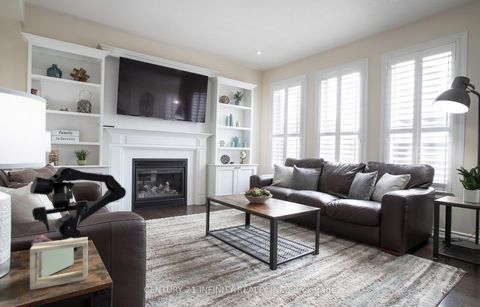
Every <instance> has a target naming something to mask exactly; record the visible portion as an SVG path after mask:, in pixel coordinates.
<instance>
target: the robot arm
mask: <svg viewBox="0 0 480 307" xmlns="http://www.w3.org/2000/svg"><path fill="white" fill-rule="evenodd" d="M34 178H35V179H34V180H33V181H32V183H31V185H30V190H29V191H30V194H32V195H33V194H34V195H43V196H49V194H52V193H53V194H52V198H51V199H52V201H51V202H52V204H51V206H52V207H53V208H48V209H46V208H47V207H46V206H45V205H44V206H39V207H37V206H36V207H34V208H33V209H32V210H31V211H32V217H33V219H34V221H38V222H42V223H43V225H44V226H45V229H46V230H47V232H48V233H49V232H50V224H49V219H48V215H51V214H58V213H65V212H71V211H76V213H73V214H70V213H65V214H64V215H63V216H61V217H58V218H57V220H56V222H55V223H54V227H53V228H54V230H55V231H56V232H58V233H59V235H60V236H61V240H66V239H68V238H74V239H75V238H80V235H81V231H80V230H79V229H78V227H79V226H80V225H81V223H82V222H83V221H84V220H86V219H88V218H89V217H91V216H92V215H94V214H95V213H97V212H99V210H101V209H103V208H104V207H106V206H107V205H109V204H110V203H113V202H117V201H119V200H121V199H124V198H125V197H126V194H127V190H126V188H124V187H123V186H122V185H121V183H119V181H117V180H116V178H115V177H114V176H113V175H111V174H108V173H107V174H102V173H95V172H94V173H93V172H87V171H81V170H78V169H76V168H75V169H74V168H73V167H67V166H60V167H59V168H58V169H56V171H55V173H54V174H52V176H50V177H49V178H45V177H40V176H35V177H34ZM72 181H73V182H75V181H90V182H99V183H104V185H105V187H106V189H107V190H106V191H105V192H104V194H103V195H102V196H101V197H99V198H97V199H96V200H93V202H91V203H90V204H89V202H88V200H79V201H77V202H76V204H74V205H71V200H73V199H74V192H73V188H74V187H75V186H76V185H75V183H73V182H72ZM78 249H79V247H74V252H77V251H78Z"/></svg>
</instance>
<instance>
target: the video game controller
mask: <svg viewBox="0 0 480 307" xmlns="http://www.w3.org/2000/svg"><path fill="white" fill-rule="evenodd" d="M50 241H53V240H52V239H50V238H48V237H46V236H45V235H43V234H41V235H38V236H35V237H34V238H33V240H32V241H31V247H32V246H33V244H34V243H42V242H50Z"/></svg>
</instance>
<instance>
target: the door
mask: <svg viewBox="0 0 480 307" xmlns="http://www.w3.org/2000/svg"><path fill="white" fill-rule="evenodd" d="M68 239H74V238H68ZM66 240H67V239H66ZM74 254H75V251H74V247H72V248H65V249H57V250H50V251H43V252H38V278H42V277H48V276H52V275H53V274H55V273H57V272H59V271H62V270H64V269H65V268H68V267H70V266H72V265H74V260H75V259H74V258H75V256H74Z"/></svg>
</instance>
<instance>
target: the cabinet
mask: <svg viewBox="0 0 480 307" xmlns="http://www.w3.org/2000/svg"><path fill="white" fill-rule="evenodd" d="M88 239H89V238H88V236H86V237H85V236H84V237H83V236H82V237H77V238H75V239H67V240H62V239H61V240H52V241H50V242H42V243H34V244H33V246H32V245H31V247H30V249H29V291H31V290H36V289H43V288H48V287H53V286H57V285H64V284H70V283H75V282H80V281H86V280H87V279H88V273H89V270H88V269H89V268H88V265H89V264H88V263H89V262H88V258H89V257H88V256H89V253H88V250H89V246H88V245H89V240H88ZM72 247H78V248H79V247H82V270H78V271H72V272H71V271H70V272H67V273H61V274H55V275H53V274H52V275H49V276H47V277H42V278H39V275H38V270H39V258H38V252H43V251H50V250H57V249H65V248H72Z"/></svg>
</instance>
